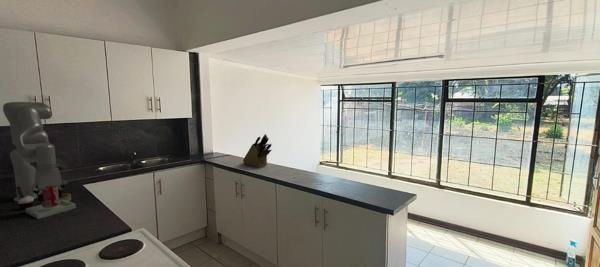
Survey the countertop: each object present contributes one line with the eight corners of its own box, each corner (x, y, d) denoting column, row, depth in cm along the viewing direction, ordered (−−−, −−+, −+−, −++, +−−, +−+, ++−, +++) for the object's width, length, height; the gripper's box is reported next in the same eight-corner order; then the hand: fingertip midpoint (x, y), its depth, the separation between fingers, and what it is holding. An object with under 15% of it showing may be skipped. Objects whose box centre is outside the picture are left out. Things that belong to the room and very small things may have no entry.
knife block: (263, 169, 241) (262, 135, 238) (242, 163, 267) (241, 132, 264) (273, 167, 249) (272, 134, 246) (252, 161, 275) (251, 132, 272)
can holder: (39, 203, 158) (38, 198, 158) (65, 197, 169) (65, 192, 168) (48, 207, 152) (47, 201, 152) (74, 200, 163) (74, 195, 162)
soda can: (58, 203, 151) (56, 182, 150) (60, 206, 147) (58, 184, 145) (41, 206, 146) (38, 185, 144) (43, 210, 141) (40, 187, 140)
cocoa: (35, 208, 151) (35, 187, 150) (20, 211, 146) (19, 190, 145) (31, 204, 156) (30, 184, 155) (15, 207, 151) (15, 186, 150)
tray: (26, 212, 143) (25, 208, 143) (63, 203, 157) (63, 199, 157) (37, 218, 136) (37, 214, 135) (76, 208, 150) (75, 204, 149)
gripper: (64, 163, 153) (67, 193, 155) (22, 169, 138) (25, 203, 140) (70, 164, 150) (72, 195, 152) (27, 171, 135) (31, 205, 136)
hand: (50, 198), depth 146 cm, fingers closed on soda can, 6 cm apart
